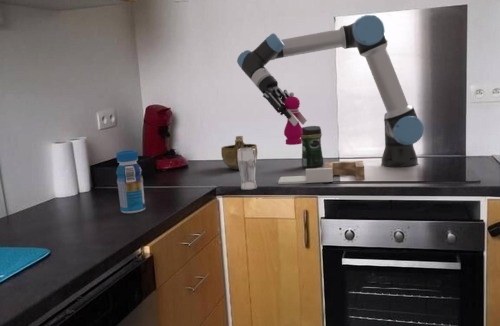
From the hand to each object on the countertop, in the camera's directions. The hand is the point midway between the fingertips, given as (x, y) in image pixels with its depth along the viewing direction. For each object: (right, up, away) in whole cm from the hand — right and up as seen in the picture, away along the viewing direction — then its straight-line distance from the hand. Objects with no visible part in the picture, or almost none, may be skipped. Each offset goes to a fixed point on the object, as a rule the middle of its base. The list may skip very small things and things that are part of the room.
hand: (300, 122), depth 189 cm
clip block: (+18, -21, +6) cm, 28 cm away
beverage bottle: (-59, -32, -25) cm, 71 cm away
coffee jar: (+9, -17, +36) cm, 41 cm away
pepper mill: (-2, -8, +4) cm, 9 cm away
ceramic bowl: (-24, -18, +44) cm, 53 cm away
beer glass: (-20, -25, -2) cm, 32 cm away
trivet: (-2, -23, +6) cm, 23 cm away
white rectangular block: (+7, -23, -1) cm, 24 cm away
